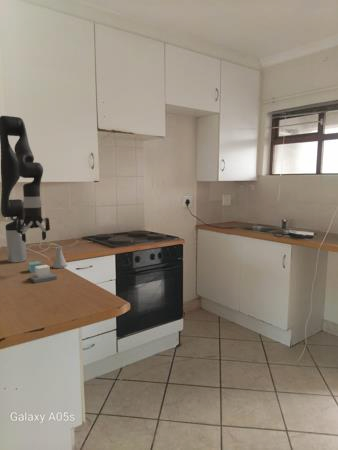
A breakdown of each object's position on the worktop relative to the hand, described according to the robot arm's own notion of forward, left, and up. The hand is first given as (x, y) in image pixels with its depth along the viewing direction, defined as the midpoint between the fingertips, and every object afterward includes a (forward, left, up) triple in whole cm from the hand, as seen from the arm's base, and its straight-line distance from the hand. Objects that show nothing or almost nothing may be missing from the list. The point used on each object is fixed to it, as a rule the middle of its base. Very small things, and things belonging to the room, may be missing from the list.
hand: (34, 240), depth 153 cm
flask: (-3, +12, -15) cm, 20 cm away
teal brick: (-3, 0, -15) cm, 16 cm away
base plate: (+13, -1, -15) cm, 20 cm away
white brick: (+13, -1, -14) cm, 19 cm away
